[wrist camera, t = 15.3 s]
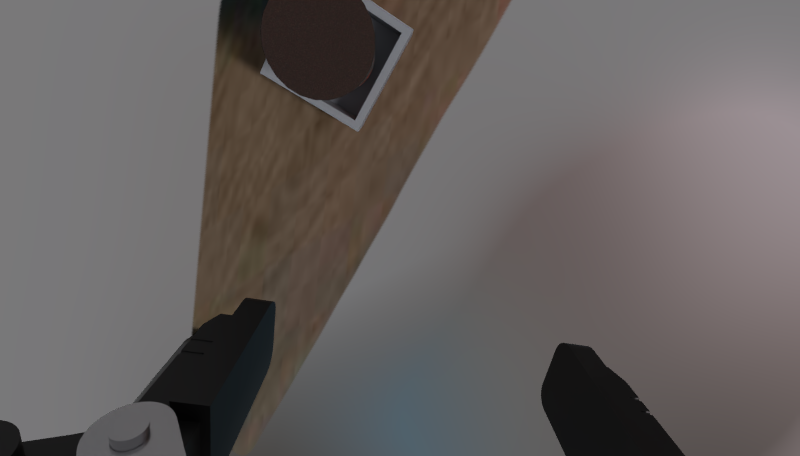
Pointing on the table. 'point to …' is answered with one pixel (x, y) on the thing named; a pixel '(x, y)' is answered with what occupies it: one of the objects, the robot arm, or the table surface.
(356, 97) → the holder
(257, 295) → the table surface
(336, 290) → the table surface
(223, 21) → the table surface
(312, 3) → the deodorant
